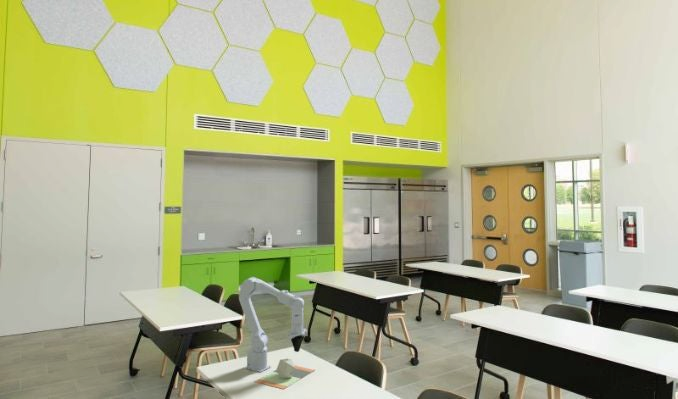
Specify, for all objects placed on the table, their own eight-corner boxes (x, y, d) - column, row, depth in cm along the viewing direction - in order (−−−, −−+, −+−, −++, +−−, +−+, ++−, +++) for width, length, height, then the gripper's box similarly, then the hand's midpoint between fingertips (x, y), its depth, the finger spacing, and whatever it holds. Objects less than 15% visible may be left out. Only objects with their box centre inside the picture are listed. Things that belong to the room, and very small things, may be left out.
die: (289, 383, 184) (300, 363, 188) (273, 374, 184) (284, 353, 188) (287, 383, 191) (297, 363, 196) (271, 374, 191) (282, 354, 196)
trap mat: (254, 381, 185) (254, 381, 185) (287, 364, 206) (287, 363, 206) (283, 389, 177) (283, 388, 177) (314, 370, 199) (314, 370, 199)
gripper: (295, 327, 192) (294, 357, 191) (312, 320, 205) (311, 348, 204) (283, 325, 195) (282, 354, 195) (300, 318, 208) (300, 346, 208)
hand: (296, 351), depth 200 cm, fingers closed
